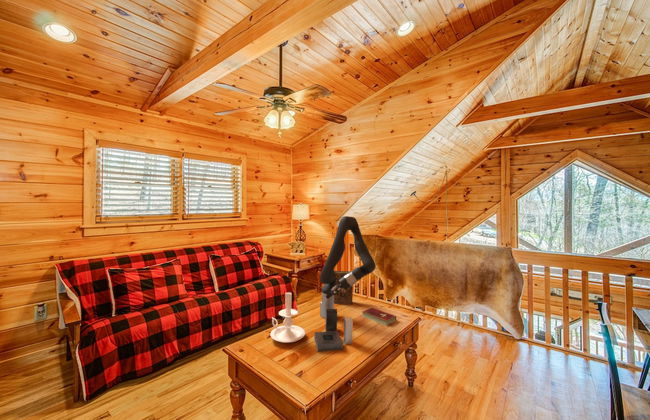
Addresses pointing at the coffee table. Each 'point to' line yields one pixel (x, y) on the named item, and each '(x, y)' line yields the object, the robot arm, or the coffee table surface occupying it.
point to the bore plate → (328, 341)
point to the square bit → (348, 330)
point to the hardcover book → (379, 316)
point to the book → (343, 290)
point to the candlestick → (287, 324)
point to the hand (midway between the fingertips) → (326, 296)
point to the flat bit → (331, 320)
